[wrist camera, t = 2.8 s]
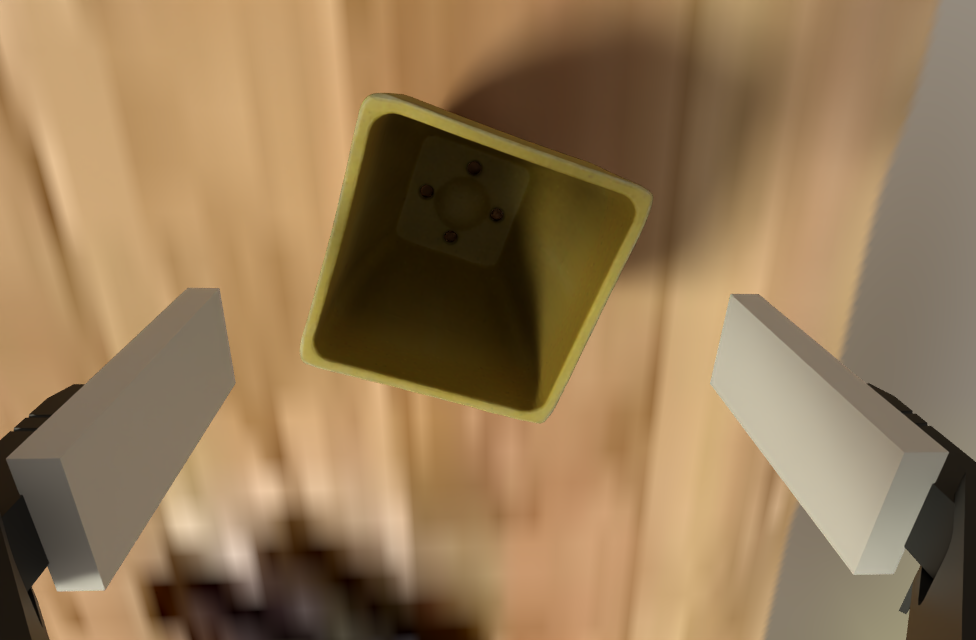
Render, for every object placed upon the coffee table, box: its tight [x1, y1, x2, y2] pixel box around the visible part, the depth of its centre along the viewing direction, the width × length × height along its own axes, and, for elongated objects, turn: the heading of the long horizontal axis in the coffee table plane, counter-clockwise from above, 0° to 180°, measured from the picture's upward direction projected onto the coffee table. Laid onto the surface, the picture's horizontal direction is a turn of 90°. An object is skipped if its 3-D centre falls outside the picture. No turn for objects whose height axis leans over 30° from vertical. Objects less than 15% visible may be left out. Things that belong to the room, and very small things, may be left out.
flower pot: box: [300, 93, 653, 423], centre depth 22 cm, size 9×9×9 cm
